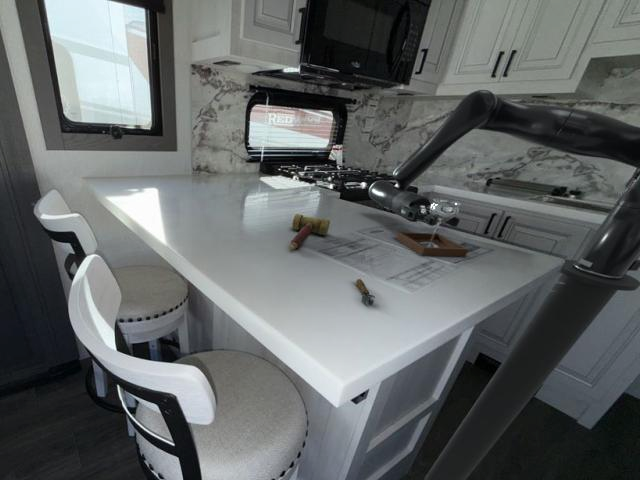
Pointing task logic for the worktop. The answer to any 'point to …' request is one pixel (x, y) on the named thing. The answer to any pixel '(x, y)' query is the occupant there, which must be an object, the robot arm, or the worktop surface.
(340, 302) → the worktop surface
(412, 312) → the worktop surface
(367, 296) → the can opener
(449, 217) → the wineglass
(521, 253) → the worktop surface
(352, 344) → the worktop surface
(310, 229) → the gavel
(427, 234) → the tray
